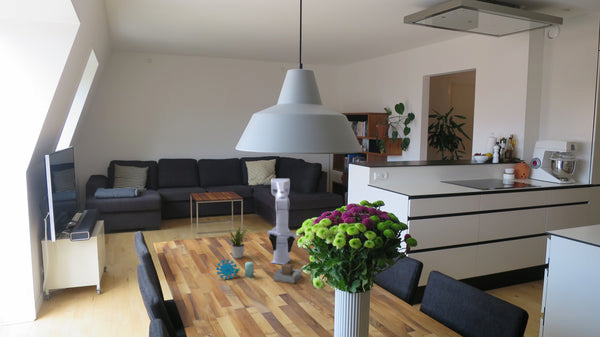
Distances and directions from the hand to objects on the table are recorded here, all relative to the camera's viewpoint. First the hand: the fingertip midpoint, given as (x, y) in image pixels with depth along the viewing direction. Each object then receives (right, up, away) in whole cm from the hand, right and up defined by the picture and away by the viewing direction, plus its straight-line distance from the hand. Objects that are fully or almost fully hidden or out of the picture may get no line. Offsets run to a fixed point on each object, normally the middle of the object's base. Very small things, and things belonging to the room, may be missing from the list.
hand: (281, 251), depth 211 cm
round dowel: (-15, -11, -5) cm, 19 cm away
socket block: (+3, -11, -7) cm, 14 cm away
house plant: (-23, -8, +23) cm, 33 cm away
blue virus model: (-25, -11, -6) cm, 28 cm away
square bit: (+3, -11, -7) cm, 14 cm away
